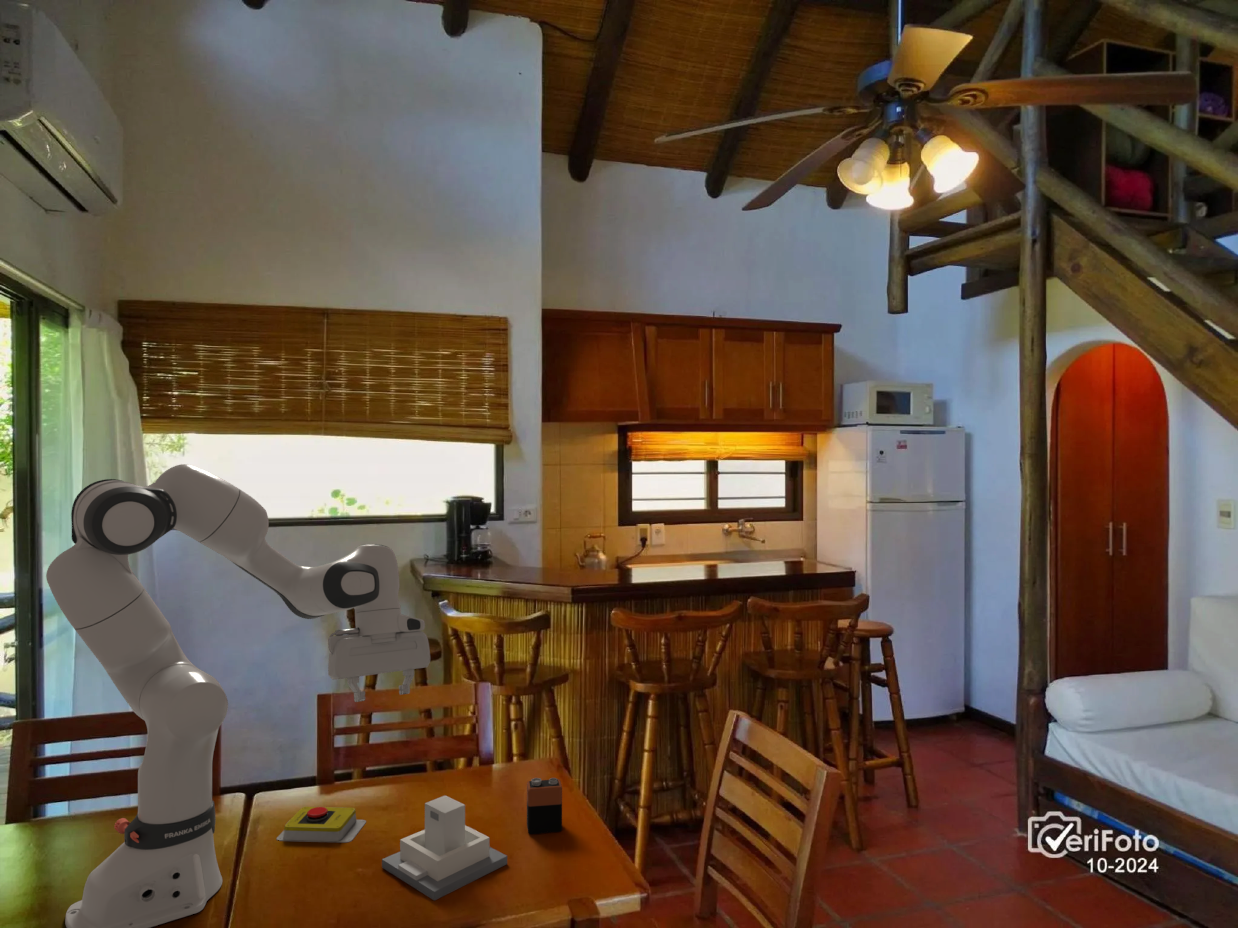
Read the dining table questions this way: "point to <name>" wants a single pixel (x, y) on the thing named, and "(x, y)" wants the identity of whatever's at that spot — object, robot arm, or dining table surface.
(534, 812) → the battery
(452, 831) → the block
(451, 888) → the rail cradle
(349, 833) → the emergency button
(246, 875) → the dining table surface
